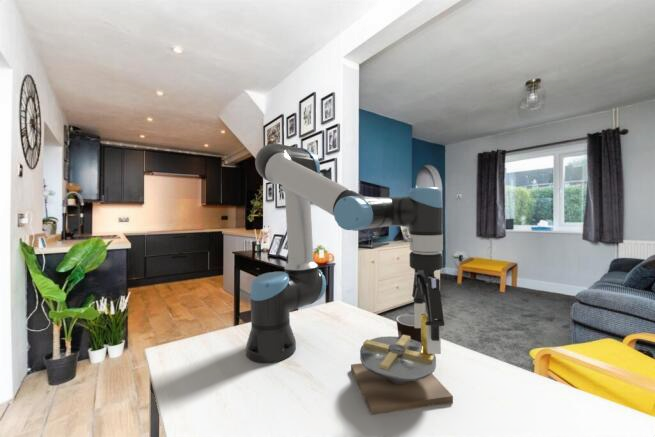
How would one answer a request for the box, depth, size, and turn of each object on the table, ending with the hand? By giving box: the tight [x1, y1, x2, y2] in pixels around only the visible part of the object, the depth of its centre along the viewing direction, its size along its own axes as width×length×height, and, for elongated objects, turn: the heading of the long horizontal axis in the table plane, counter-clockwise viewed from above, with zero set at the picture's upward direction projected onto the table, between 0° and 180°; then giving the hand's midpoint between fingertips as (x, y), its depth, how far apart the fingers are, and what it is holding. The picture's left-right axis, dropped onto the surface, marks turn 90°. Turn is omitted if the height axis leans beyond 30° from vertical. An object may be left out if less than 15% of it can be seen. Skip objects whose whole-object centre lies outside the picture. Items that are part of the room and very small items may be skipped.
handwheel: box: [359, 312, 437, 381], centre depth 70 cm, size 18×18×12 cm
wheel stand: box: [350, 362, 454, 415], centre depth 71 cm, size 17×19×6 cm
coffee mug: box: [395, 314, 421, 343], centre depth 87 cm, size 12×9×10 cm
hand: (426, 339), depth 70 cm, fingers open, 13 cm apart
